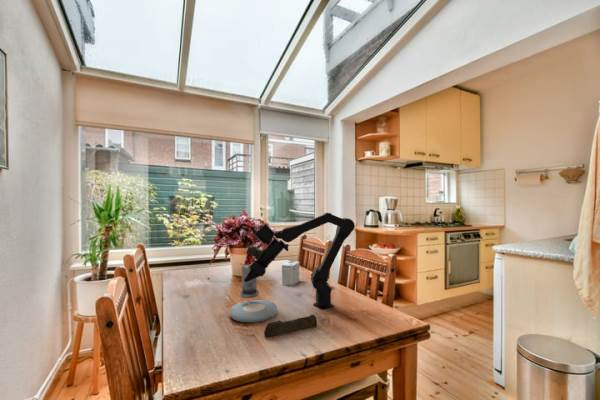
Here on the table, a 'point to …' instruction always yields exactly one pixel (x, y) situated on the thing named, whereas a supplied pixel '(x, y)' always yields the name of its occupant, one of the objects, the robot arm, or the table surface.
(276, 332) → the hand tool
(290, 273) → the light bulb box
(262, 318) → the turntable
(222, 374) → the table surface
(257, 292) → the dark grey cylinder
